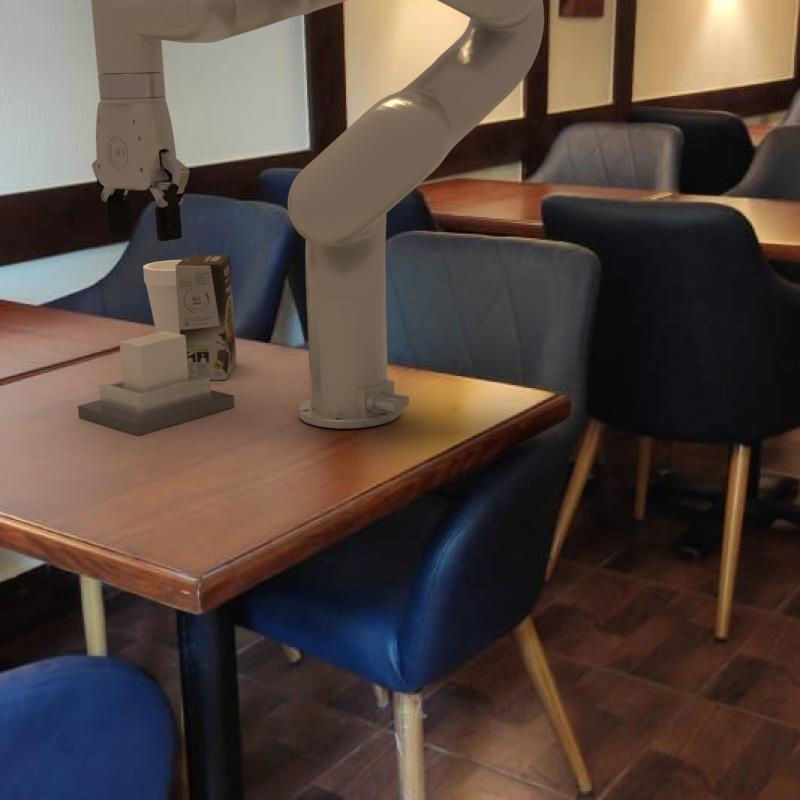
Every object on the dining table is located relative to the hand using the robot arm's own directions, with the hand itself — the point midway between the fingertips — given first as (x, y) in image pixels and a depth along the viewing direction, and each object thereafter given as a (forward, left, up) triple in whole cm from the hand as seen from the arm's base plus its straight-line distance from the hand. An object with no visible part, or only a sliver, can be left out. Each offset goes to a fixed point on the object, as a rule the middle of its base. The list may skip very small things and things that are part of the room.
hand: (144, 236), depth 145 cm
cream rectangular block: (0, 0, -21) cm, 21 cm away
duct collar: (0, 0, -22) cm, 22 cm away
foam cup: (+24, -23, -22) cm, 40 cm away
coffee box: (+10, -17, -22) cm, 30 cm away
